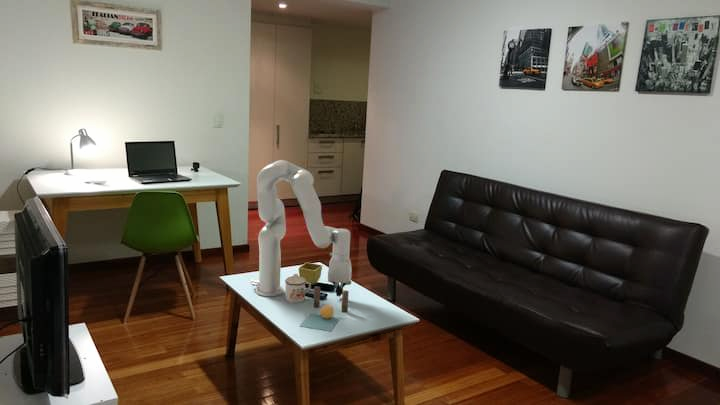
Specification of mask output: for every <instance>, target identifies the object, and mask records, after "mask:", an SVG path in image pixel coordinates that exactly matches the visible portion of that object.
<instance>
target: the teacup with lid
mask: <svg viewBox="0 0 720 405" xmlns="http://www.w3.org/2000/svg"><path fill="white" fill-rule="evenodd" d="M305 284H309V285H308V287H307V289H306V285H305ZM311 288H312V286H311V284H310V283H309V282H306V280H305V279H304V278H303V277H300V276H299V273H294V274H293V275H292V276H289V277H287V278H285V295H284V296H285V297H284V298H285V301H286V302H288V303H293V304H294V303H295V304H296V303H301V302H303V301H305V299H306V294H307V293H308V292H310V290H311Z"/></svg>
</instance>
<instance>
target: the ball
mask: <svg viewBox="0 0 720 405" xmlns="http://www.w3.org/2000/svg"><path fill="white" fill-rule="evenodd" d="M334 311H335V310H334V308H333V306H331V305H327V304H326V305H324V306H322V307H321V308H320V311H319V312H320V314H319V315H321V316H322V317H323V318H325V319H329V318H331V317H334V313H335V312H334Z"/></svg>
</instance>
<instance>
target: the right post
mask: <svg viewBox="0 0 720 405" xmlns="http://www.w3.org/2000/svg"><path fill="white" fill-rule="evenodd" d="M341 297H342V298H341V313H343V314H344V313H348V311H349V290H344V289H343V291H342V295H341Z"/></svg>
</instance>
